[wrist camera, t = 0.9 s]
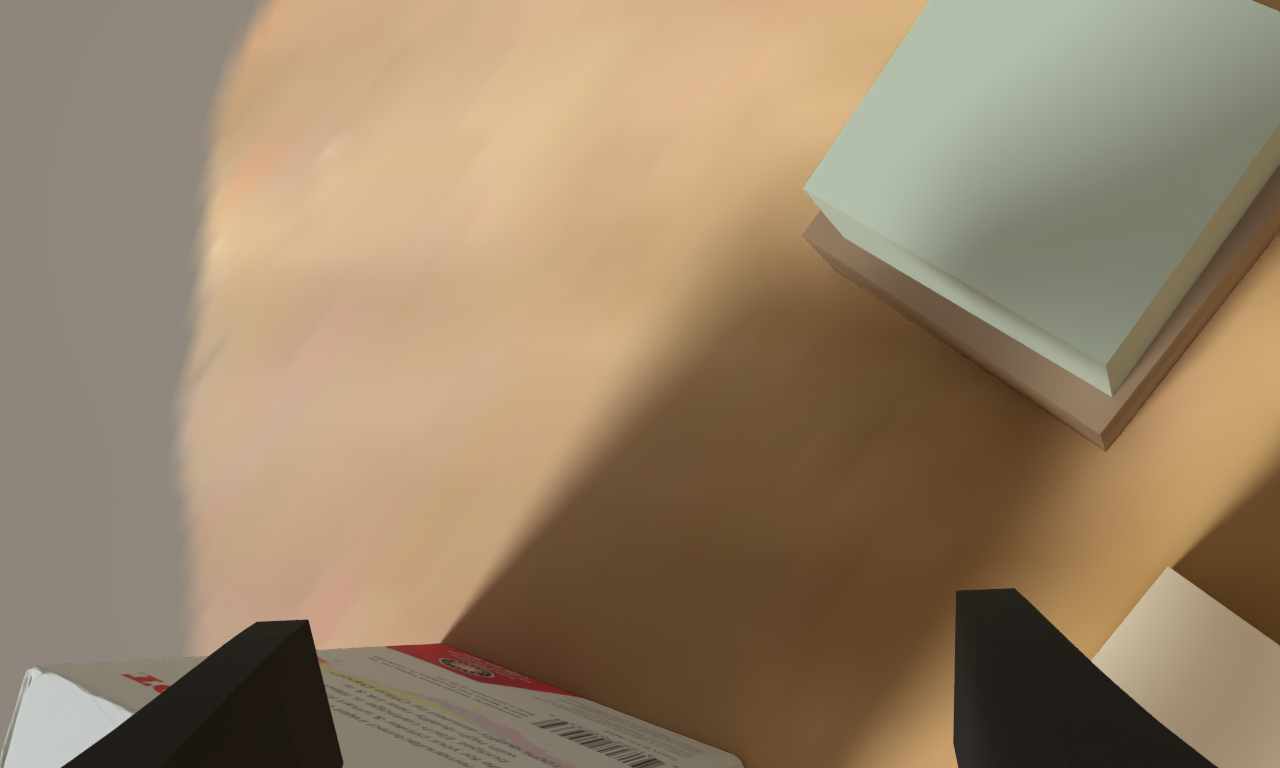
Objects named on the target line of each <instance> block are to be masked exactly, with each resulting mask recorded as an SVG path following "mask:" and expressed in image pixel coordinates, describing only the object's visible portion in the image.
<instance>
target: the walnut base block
mask: <svg viewBox="0 0 1280 768" xmlns="http://www.w3.org/2000/svg"><path fill="white" fill-rule="evenodd" d="M1279 231H1280V165H1279V166H1278V167H1277V169H1276V170H1275V172H1274V173H1273V174H1272V176H1271V177H1270V178H1269V180H1268V181H1267V183H1266V184H1265V185H1264V187H1263V188H1262V190H1261V191H1260V192H1259V194H1258V195H1257V197H1256V198H1255V199H1254V201H1253V202H1252V203H1251V205H1250V206H1249V208H1248V209H1247V210H1246V212H1245V213H1244V215H1243V216H1242V217H1241V219H1240V220H1239V222H1238V223H1237V224H1236V226H1235V227H1234V229H1233V230H1232V231H1231V233H1230V234H1229V235H1228V237H1227V238H1226V240H1225V241H1224V242H1223V244H1222V245H1221V247H1220V248H1219V249H1218V251H1217V252H1216V254H1215V255H1214V256H1213V258H1212V259H1211V261H1210V262H1209V263H1208V265H1207V266H1206V267H1205V269H1204V270H1203V272H1202V273H1201V274H1200V276H1199V277H1198V279H1197V280H1196V281H1195V283H1194V284H1193V286H1192V287H1191V288H1190V290H1189V291H1188V292H1187V294H1186V295H1185V297H1184V298H1183V299H1182V301H1181V302H1180V304H1179V305H1178V306H1177V308H1176V309H1175V311H1174V312H1173V313H1172V315H1171V316H1170V318H1169V319H1168V320H1167V322H1166V323H1165V324H1164V326H1163V327H1162V329H1161V330H1160V331H1159V333H1158V334H1157V336H1156V337H1155V338H1154V340H1153V341H1152V343H1151V344H1150V345H1149V347H1148V348H1147V350H1146V351H1145V352H1144V354H1143V355H1142V356H1141V358H1140V359H1139V361H1138V362H1137V363H1136V365H1135V366H1134V368H1133V369H1132V370H1131V372H1130V373H1129V375H1128V376H1127V377H1126V379H1125V380H1124V381H1123V383H1122V384H1121V386H1120V387H1119V388H1118V390H1117V391H1116V393H1115V394H1114V395H1113V397H1111V396H1109V395H1108V394H1106V393H1104V392H1103V391H1101V390H1099V389H1098V388H1096V387H1094V386H1093V385H1091V384H1089V383H1088V382H1086V381H1084V380H1083V379H1081V378H1079V377H1077V376H1076V375H1074V374H1072V373H1071V372H1069V371H1067V370H1066V369H1064V368H1062V367H1061V366H1059V365H1057V364H1056V363H1054V362H1052V361H1051V360H1049V359H1047V358H1046V357H1044V356H1042V355H1041V354H1039V353H1037V352H1035V351H1034V350H1032V349H1030V348H1029V347H1027V346H1025V345H1024V344H1022V343H1020V342H1019V341H1017V340H1015V339H1014V338H1012V337H1010V336H1009V335H1007V334H1005V333H1004V332H1002V331H1000V330H998V329H997V328H995V327H993V326H992V325H990V324H988V323H987V322H985V321H983V320H982V319H980V318H978V317H977V316H975V315H973V314H972V313H970V312H968V311H967V310H965V309H963V308H962V307H960V306H958V305H956V304H955V303H953V302H951V301H950V300H948V299H946V298H945V297H943V296H941V295H940V294H938V293H936V292H935V291H933V290H931V289H930V288H928V287H926V286H925V285H923V284H921V283H919V282H918V281H916V280H914V279H913V278H911V277H909V276H908V275H906V274H904V273H903V272H901V271H899V270H898V269H896V268H894V267H893V266H891V265H889V264H888V263H886V262H884V261H883V260H881V259H879V258H877V257H876V256H874V255H872V254H871V253H869V252H867V251H866V250H864V249H862V248H861V247H859V246H857V245H856V244H854V243H852V242H851V241H849V240H847V239H846V238H844V237H843V236H842V235H841V233H840V232H839V231H838V230H837V229H836V227H835V226H834V225H833V224H832V223H831V222H830V220H829V219H828V218H827V217H826V216H825V214H824V213H823V212H822V211H820V212H819V213H818V215H817V216H816V217H815V219H814V220H813V222H812V223H811V224H810V226H809V227H808V228H807V230H806V231H805V232H804V234H803V235H802V236H803V237H804V238H805V239H806V240H807V241H808V242H809V243H810V244H811V245H812V246H813V247H814V248H815V249H816V250H817V251H818V252H819V253H820V254H821V255H822V257H823V258H824V259H825V260H826V261H827V262H828V263H829V264H830V265H831V266H832V267H833V268H834V269H835V270H836V271H838V272H839V273H841V274H842V275H844V276H845V277H847V278H848V279H850V280H851V281H853V282H854V283H856V284H857V285H859V286H860V287H862V288H863V289H865V290H866V291H868V292H869V293H871V294H872V295H874V296H875V297H877V298H878V299H880V300H881V301H882V302H884V303H885V304H887V305H888V306H890V307H891V308H893V309H894V310H896V311H897V312H899V313H900V314H902V315H903V316H905V317H906V318H908V319H909V320H911V321H912V322H914V323H915V324H917V325H918V326H920V327H921V328H923V329H924V330H926V331H927V332H929V333H930V334H932V335H933V336H935V337H936V338H937V339H939V340H940V341H942V342H943V343H945V344H946V345H948V346H949V347H951V348H952V349H954V350H955V351H957V352H958V353H960V354H961V355H963V356H964V357H966V358H967V359H969V360H970V361H972V362H973V363H975V364H976V365H978V366H979V367H981V368H982V369H984V370H985V371H987V372H988V373H990V374H991V375H992V376H994V377H995V378H997V379H998V380H1000V381H1001V382H1003V383H1004V384H1006V385H1007V386H1009V387H1010V388H1012V389H1013V390H1015V391H1016V392H1018V393H1019V394H1021V395H1022V396H1024V397H1025V398H1027V399H1028V400H1030V401H1031V402H1033V403H1034V404H1036V405H1037V406H1039V407H1040V408H1042V409H1043V410H1045V411H1046V412H1047V413H1049V414H1050V415H1052V416H1053V417H1055V418H1056V419H1058V420H1059V421H1061V422H1062V423H1064V424H1065V425H1067V426H1068V427H1070V428H1071V429H1073V430H1074V431H1076V432H1077V433H1079V434H1080V435H1082V436H1083V437H1085V438H1086V439H1088V440H1089V441H1091V442H1092V443H1094V444H1095V445H1097V446H1098V447H1100V448H1101V449H1102V450H1104V451H1105V452H1106V451H1107V450H1108V448H1109V447H1110V446H1111V445H1112V443H1113V442H1114V441H1115V440H1116V438H1117V437H1118V436H1119V434H1120V433H1121V432H1122V431H1123V429H1124V428H1125V427H1126V426H1127V424H1128V423H1129V422H1130V420H1131V419H1132V418H1133V417H1134V415H1135V414H1136V413H1137V412H1138V410H1139V409H1140V408H1141V407H1142V405H1143V404H1144V403H1145V401H1146V400H1147V399H1148V398H1149V396H1150V395H1151V394H1152V393H1153V391H1154V390H1155V389H1156V387H1157V386H1158V385H1159V384H1160V382H1161V381H1162V380H1163V379H1164V377H1165V376H1166V375H1167V373H1168V372H1169V371H1170V370H1171V368H1172V367H1173V366H1174V365H1175V363H1176V362H1177V361H1178V359H1179V358H1180V357H1181V356H1182V354H1183V353H1184V352H1185V351H1186V349H1187V348H1188V347H1189V345H1190V344H1191V343H1192V342H1193V340H1194V339H1195V338H1196V337H1197V335H1198V334H1199V333H1200V332H1201V330H1202V329H1203V328H1204V326H1205V325H1206V324H1207V323H1208V321H1209V320H1210V319H1211V318H1212V316H1213V315H1214V314H1215V312H1216V311H1217V310H1218V309H1219V307H1220V306H1221V305H1222V304H1223V302H1224V301H1225V300H1226V298H1227V297H1228V296H1229V295H1230V293H1231V292H1232V291H1233V290H1234V288H1235V287H1236V286H1237V284H1238V283H1239V282H1240V281H1241V279H1242V278H1243V277H1244V276H1245V274H1246V273H1247V272H1248V271H1249V269H1250V268H1251V267H1252V265H1253V264H1254V263H1255V262H1256V260H1257V259H1258V258H1259V257H1260V255H1261V254H1262V253H1263V251H1264V250H1265V249H1266V248H1267V246H1268V245H1269V244H1270V243H1271V241H1272V240H1273V239H1274V237H1275V236H1276V235H1277V234H1278V232H1279Z"/></svg>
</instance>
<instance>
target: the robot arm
mask: <svg viewBox="0 0 1280 768" xmlns="http://www.w3.org/2000/svg"><path fill="white" fill-rule="evenodd" d="M953 743H954V748H955V753H956V758H957V763H958V768H1218V767H1217V766H1216V765H1214V764H1213V763H1212V762H1210V761H1209V760H1208V759H1206V758H1205V757H1204V756H1203V755H1201V754H1200V753H1199V752H1197V751H1196V750H1195V749H1194V748H1192V747H1191V746H1190V745H1188V744H1187V743H1186V742H1185V741H1183V740H1182V739H1181V738H1179V737H1178V736H1177V735H1176V734H1174V733H1173V732H1172V731H1170V730H1169V729H1168V728H1167V727H1165V726H1164V725H1163V724H1162V723H1160V722H1159V721H1158V720H1157V719H1156V718H1154V717H1153V716H1152V715H1151V714H1150V713H1149V712H1147V711H1146V710H1145V709H1144V708H1143V707H1142V706H1141V705H1139V704H1138V703H1137V702H1136V701H1135V700H1134V699H1133V698H1131V697H1130V696H1129V695H1128V694H1127V693H1126V692H1125V691H1123V690H1122V689H1121V688H1120V687H1119V686H1118V685H1117V684H1115V683H1114V682H1113V681H1112V680H1111V679H1110V678H1109V677H1108V676H1107V675H1105V674H1104V673H1103V672H1102V671H1101V670H1100V669H1099V668H1098V667H1097V666H1096V665H1095V664H1093V663H1092V662H1091V661H1090V660H1089V659H1088V658H1087V657H1086V656H1085V655H1084V654H1083V653H1082V652H1081V651H1080V650H1079V649H1078V648H1077V647H1075V646H1074V645H1073V644H1072V643H1071V642H1070V641H1069V640H1068V639H1067V638H1066V637H1065V636H1064V635H1063V634H1062V633H1061V632H1060V631H1059V630H1058V629H1057V628H1056V627H1055V626H1054V625H1053V624H1052V623H1051V622H1049V621H1048V620H1047V619H1046V618H1045V617H1044V616H1043V615H1042V614H1041V613H1040V612H1039V611H1038V610H1037V609H1036V608H1035V607H1034V606H1033V605H1032V604H1031V603H1030V602H1029V601H1028V600H1027V599H1026V598H1025V597H1023V596H1022V595H1021V594H1020V593H1019V592H1018V591H1017V590H1016V589H1015V588H1010V589H988V590H965V591H956V631H955V685H954V739H953ZM343 763H344V762H343V758H342V754H341V750H340V746H339V742H338V738H337V734H336V730H335V726H334V722H333V718H332V714H331V710H330V706H329V701H328V697H327V693H326V689H325V685H324V681H323V677H322V673H321V669H320V665H319V661H318V657H317V653H316V649H315V645H314V641H313V637H312V633H311V629H310V625H309V621H308V620H289V621H266V622H256V623H254V624H253V625H251V626H250V627H248V628H247V629H245V630H244V631H242V632H241V633H239V634H238V635H237V636H235V637H234V638H232V639H231V640H230V641H228V642H227V643H226V644H224V645H223V646H222V647H220V648H219V649H218V650H216V651H215V652H214V653H212V654H211V655H210V656H208V657H207V658H206V659H205V660H203V661H202V662H201V663H199V664H198V665H197V666H196V667H194V668H193V669H192V670H190V671H189V672H188V673H187V674H185V675H184V676H183V677H181V678H180V679H179V680H178V681H176V682H175V683H174V684H172V685H171V686H170V687H169V688H167V689H166V690H165V691H163V692H162V693H161V694H159V695H158V696H157V697H156V698H154V699H153V700H152V701H150V702H149V703H148V704H146V705H145V706H144V707H143V708H141V709H140V710H139V711H137V712H136V713H135V714H133V715H132V716H131V717H130V718H128V719H127V720H126V721H124V722H123V723H122V724H120V725H119V726H118V727H116V728H115V729H114V730H112V731H111V732H110V733H108V734H107V735H106V736H104V737H103V738H101V739H100V740H99V741H97V742H96V743H94V744H93V745H92V746H90V747H89V748H87V749H86V750H85V751H83V752H82V753H80V754H79V755H78V756H76V757H75V758H73V759H72V760H71V761H69V762H68V763H66V764H65V765H64V766H62V767H61V768H342V767H343Z"/></svg>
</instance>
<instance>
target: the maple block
mask: <svg viewBox="0 0 1280 768" xmlns="http://www.w3.org/2000/svg"><path fill="white" fill-rule="evenodd" d="M1091 662H1092V663H1093V664H1095V665H1096V666H1097V667H1098V668H1099V669H1100V670H1101V671H1102V672H1103V673H1104V674H1105V675H1107V676H1108V677H1109V678H1110V679H1111V680H1112V681H1113V682H1114V683H1115V684H1117V685H1118V686H1119V687H1120V688H1121V689H1122V690H1123V691H1125V692H1126V693H1127V694H1128V695H1129V696H1130V697H1131V698H1133V699H1134V700H1135V701H1136V702H1137V703H1138V704H1139V705H1141V706H1142V707H1143V708H1144V709H1145V710H1146V711H1147V712H1149V713H1150V714H1151V715H1152V716H1153V717H1154V718H1156V719H1157V720H1158V721H1159V722H1160V723H1162V724H1163V725H1164V726H1165V727H1167V728H1168V729H1169V730H1170V731H1172V732H1173V733H1174V734H1176V735H1177V736H1178V737H1179V738H1181V739H1182V740H1183V741H1185V742H1186V743H1187V744H1188V745H1190V746H1191V747H1192V748H1194V749H1195V750H1196V751H1197V752H1199V753H1200V754H1201V755H1203V756H1204V757H1205V758H1206V759H1208V760H1209V761H1210V762H1212V763H1213V764H1214V765H1216V766H1217V767H1218V768H1280V645H1278V644H1277V643H1275V642H1274V641H1273V640H1271V639H1270V638H1268V637H1267V636H1266V635H1264V634H1263V633H1261V632H1260V631H1258V630H1257V629H1256V628H1254V627H1253V626H1251V625H1250V624H1249V623H1247V622H1246V621H1244V620H1243V619H1242V618H1240V617H1239V616H1237V615H1236V614H1234V613H1233V612H1232V611H1230V610H1229V609H1227V608H1226V607H1225V606H1223V605H1222V604H1220V603H1219V602H1218V601H1216V600H1215V599H1213V598H1212V597H1211V596H1209V595H1208V594H1206V593H1205V592H1203V591H1202V590H1201V589H1199V588H1198V587H1196V586H1195V585H1194V584H1192V583H1191V582H1189V581H1188V580H1187V579H1185V578H1184V577H1182V576H1181V575H1179V574H1178V573H1177V572H1175V571H1174V570H1172V569H1171V568H1170V567H1167V568H1166V569H1165V570H1164V572H1163V573H1162V574H1161V575H1160V577H1159V578H1158V579H1157V580H1156V581H1155V583H1154V584H1153V585H1152V586H1151V588H1150V589H1149V590H1148V591H1147V593H1146V594H1145V595H1144V596H1143V597H1142V599H1141V600H1140V601H1139V602H1138V604H1137V605H1136V606H1135V607H1134V609H1133V610H1132V611H1131V612H1130V613H1129V615H1128V616H1127V617H1126V618H1125V620H1124V621H1123V622H1122V623H1121V625H1120V626H1119V627H1118V628H1117V629H1116V631H1115V632H1114V633H1113V634H1112V636H1111V637H1110V638H1109V639H1108V641H1107V642H1106V643H1105V644H1104V645H1103V647H1102V648H1101V649H1100V650H1099V652H1098V653H1097V654H1096V655H1095V657H1094V658H1093V659H1092V660H1091Z"/></svg>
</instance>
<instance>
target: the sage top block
mask: <svg viewBox="0 0 1280 768" xmlns="http://www.w3.org/2000/svg"><path fill="white" fill-rule="evenodd" d="M1279 165H1280V11H1277V10H1275V9H1272V8H1270V7H1267V6H1265V5H1262V4H1260V3H1258V2H1255V1H1253V0H930V1H929V2H928V4H927V5H926V7H925V8H924V10H923V11H922V13H921V14H920V16H919V17H918V19H917V20H916V22H915V23H914V25H913V26H912V28H911V29H910V31H909V32H908V34H907V35H906V36H905V38H904V39H903V41H902V42H901V44H900V45H899V47H898V48H897V50H896V51H895V53H894V54H893V56H892V57H891V59H890V60H889V62H888V63H887V65H886V66H885V68H884V69H883V71H882V72H881V74H880V75H879V77H878V78H877V80H876V81H875V82H874V84H873V85H872V87H871V88H870V90H869V91H868V93H867V94H866V96H865V97H864V99H863V100H862V102H861V103H860V105H859V106H858V108H857V109H856V111H855V112H854V114H853V115H852V117H851V118H850V120H849V121H848V123H847V124H846V125H845V127H844V128H843V130H842V131H841V133H840V134H839V136H838V137H837V139H836V140H835V142H834V143H833V145H832V146H831V148H830V149H829V151H828V152H827V154H826V155H825V157H824V158H823V160H822V161H821V163H820V164H819V166H818V167H817V168H816V170H815V171H814V173H813V174H812V176H811V177H810V179H809V180H808V182H807V183H806V185H805V186H804V188H803V190H804V191H805V192H806V193H807V194H808V196H809V197H810V198H811V199H812V200H813V202H814V203H815V204H816V205H817V206H818V207H819V209H820V210H821V211H822V212H823V213H824V214H825V216H826V217H827V218H828V219H829V220H830V222H831V223H832V224H833V225H834V226H835V227H836V229H837V230H838V231H839V232H840V233H841V235H842V236H843V237H844V238H846V239H847V240H849V241H851V242H852V243H854V244H856V245H857V246H859V247H861V248H862V249H864V250H866V251H867V252H869V253H871V254H872V255H874V256H876V257H877V258H879V259H881V260H883V261H884V262H886V263H888V264H889V265H891V266H893V267H894V268H896V269H898V270H899V271H901V272H903V273H904V274H906V275H908V276H909V277H911V278H913V279H914V280H916V281H918V282H919V283H921V284H923V285H925V286H926V287H928V288H930V289H931V290H933V291H935V292H936V293H938V294H940V295H941V296H943V297H945V298H946V299H948V300H950V301H951V302H953V303H955V304H956V305H958V306H960V307H962V308H963V309H965V310H967V311H968V312H970V313H972V314H973V315H975V316H977V317H978V318H980V319H982V320H983V321H985V322H987V323H988V324H990V325H992V326H993V327H995V328H997V329H998V330H1000V331H1002V332H1004V333H1005V334H1007V335H1009V336H1010V337H1012V338H1014V339H1015V340H1017V341H1019V342H1020V343H1022V344H1024V345H1025V346H1027V347H1029V348H1030V349H1032V350H1034V351H1035V352H1037V353H1039V354H1041V355H1042V356H1044V357H1046V358H1047V359H1049V360H1051V361H1052V362H1054V363H1056V364H1057V365H1059V366H1061V367H1062V368H1064V369H1066V370H1067V371H1069V372H1071V373H1072V374H1074V375H1076V376H1077V377H1079V378H1081V379H1083V380H1084V381H1086V382H1088V383H1089V384H1091V385H1093V386H1094V387H1096V388H1098V389H1099V390H1101V391H1103V392H1104V393H1106V394H1108V395H1109V396H1111V397H1113V395H1114V394H1115V393H1116V391H1117V390H1118V388H1119V387H1120V386H1121V384H1122V383H1123V381H1124V380H1125V379H1126V377H1127V376H1128V375H1129V373H1130V372H1131V370H1132V369H1133V368H1134V366H1135V365H1136V363H1137V362H1138V361H1139V359H1140V358H1141V356H1142V355H1143V354H1144V352H1145V351H1146V350H1147V348H1148V347H1149V345H1150V344H1151V343H1152V341H1153V340H1154V338H1155V337H1156V336H1157V334H1158V333H1159V331H1160V330H1161V329H1162V327H1163V326H1164V324H1165V323H1166V322H1167V320H1168V319H1169V318H1170V316H1171V315H1172V313H1173V312H1174V311H1175V309H1176V308H1177V306H1178V305H1179V304H1180V302H1181V301H1182V299H1183V298H1184V297H1185V295H1186V294H1187V292H1188V291H1189V290H1190V288H1191V287H1192V286H1193V284H1194V283H1195V281H1196V280H1197V279H1198V277H1199V276H1200V274H1201V273H1202V272H1203V270H1204V269H1205V267H1206V266H1207V265H1208V263H1209V262H1210V261H1211V259H1212V258H1213V256H1214V255H1215V254H1216V252H1217V251H1218V249H1219V248H1220V247H1221V245H1222V244H1223V242H1224V241H1225V240H1226V238H1227V237H1228V235H1229V234H1230V233H1231V231H1232V230H1233V229H1234V227H1235V226H1236V224H1237V223H1238V222H1239V220H1240V219H1241V217H1242V216H1243V215H1244V213H1245V212H1246V210H1247V209H1248V208H1249V206H1250V205H1251V203H1252V202H1253V201H1254V199H1255V198H1256V197H1257V195H1258V194H1259V192H1260V191H1261V190H1262V188H1263V187H1264V185H1265V184H1266V183H1267V181H1268V180H1269V178H1270V177H1271V176H1272V174H1273V173H1274V172H1275V170H1276V169H1277V167H1278V166H1279Z"/></svg>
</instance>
